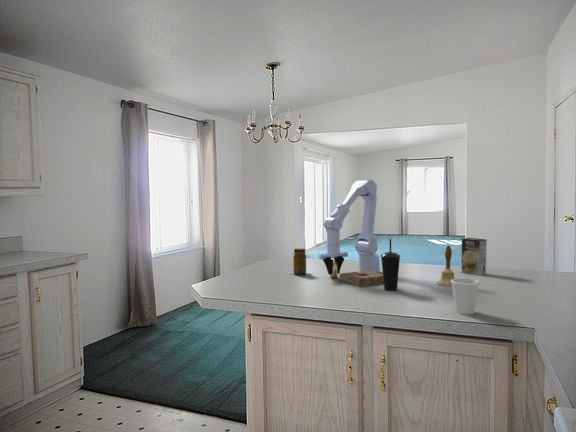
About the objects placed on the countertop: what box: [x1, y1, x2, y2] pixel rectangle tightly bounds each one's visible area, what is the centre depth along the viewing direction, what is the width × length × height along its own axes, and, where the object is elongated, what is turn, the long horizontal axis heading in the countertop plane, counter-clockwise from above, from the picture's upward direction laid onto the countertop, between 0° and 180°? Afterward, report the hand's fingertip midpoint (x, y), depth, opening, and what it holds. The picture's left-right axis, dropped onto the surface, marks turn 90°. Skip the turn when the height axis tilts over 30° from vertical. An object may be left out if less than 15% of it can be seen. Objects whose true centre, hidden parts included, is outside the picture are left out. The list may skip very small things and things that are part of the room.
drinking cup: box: [379, 238, 401, 292], centre depth 168 cm, size 8×8×20 cm
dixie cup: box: [451, 277, 480, 315], centre depth 135 cm, size 8×8×10 cm
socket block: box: [339, 270, 384, 287], centre depth 184 cm, size 14×14×3 cm
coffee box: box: [460, 237, 488, 276], centre depth 197 cm, size 9×6×16 cm
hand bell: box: [436, 245, 456, 287], centre depth 175 cm, size 8×8×16 cm
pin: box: [329, 261, 339, 280], centre depth 193 cm, size 4×4×7 cm
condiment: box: [289, 248, 312, 277], centre depth 203 cm, size 7×8×12 cm
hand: (333, 273), depth 193 cm, fingers closed on pin, 3 cm apart
